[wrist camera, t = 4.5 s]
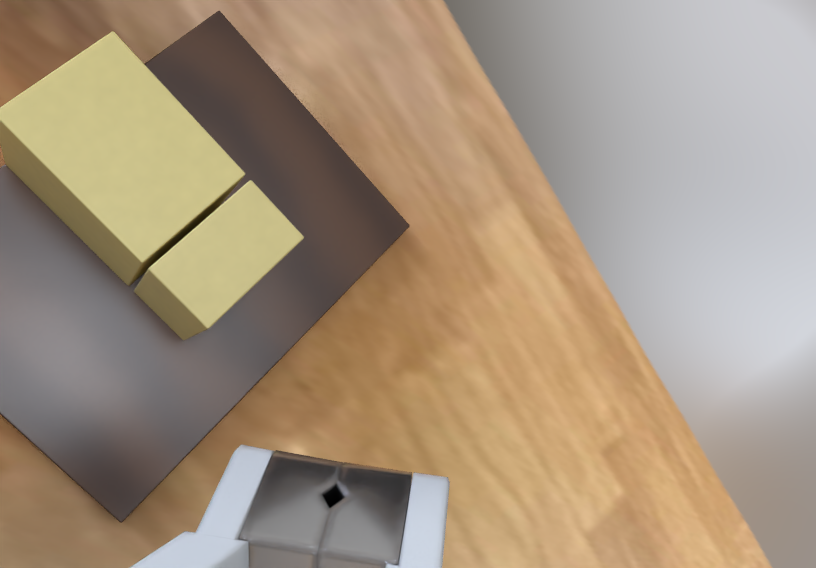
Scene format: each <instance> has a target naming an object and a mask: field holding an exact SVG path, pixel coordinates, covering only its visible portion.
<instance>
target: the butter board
mask: <svg viewBox="0 0 816 568" xmlns="http://www.w3.org/2000/svg"><path fill="white" fill-rule="evenodd" d="M144 65H145V66H146V67H147V68H148V69H149V70H150V71H151V72H152V73H153V74H154V75H155V77H156V78H157V79H158V80H159V81H160V82H161V83H162V84H163V85H164V86H165V87H166V88H167V89H168V91H169V92H170V93H171V94H172V95H173V96H174V97H175V98H176V99H177V100H178V101H179V102H180V104H181V105H182V106H183V107H184V108H185V109H186V110H187V111H188V112H189V113H190V114H191V115H192V116H193V118H194V119H195V120H196V121H197V122H198V123H199V124H200V125H201V126H202V127H203V128H204V129H205V130H206V132H207V133H208V134H209V135H210V136H211V137H212V138H213V139H214V140H215V141H216V142H217V143H218V145H219V146H220V147H221V148H222V149H223V150H224V151H225V152H226V153H227V154H228V155H229V156H230V157H231V159H232V160H233V161H234V162H235V163H236V164H237V165H238V166H239V167H240V168H241V169H242V170H243V171H244V173H245V176H244V177H243V178H242V179H241V181H240V182H239V183H238V184H237V186H236V187H235V188H234V189H233V190H232V192H231V193H230V194H229V195H228V197H227V198H226V199H225V200H224V201H223V203H224V202H225V201H226V200H228V199H229V198H230V197H231V196H232V195H233V194H235V193H236V192H237V191H238V190H239V189H240V188H241V187H243V186H244V185H245V184H246V183H247V182H248V181H250V180H251V181H253V182H254V184H255V185H256V186H257V187H258V188H259V189H260V190H261V191H262V192H263V193H264V194H265V195H266V196H267V198H268V199H269V200H270V201H271V202H272V203H273V204H274V205H275V206H276V207H277V208H278V209H279V211H280V212H281V213H282V214H283V215H284V216H285V217H286V218H287V219H288V220H289V221H290V222H291V223H292V225H293V226H294V227H295V228H296V229H297V230H298V231H299V232H300V233H301V234H302V235H303V237H304V238H303V240H302V241H301V242H300V243H299V244H298V245H296V246H295V247H294V248H293V249H292V250H291V251H290V252H289V253H288V254H287V255H286V256H285V257H284V258H283V259H282V260H281V261H280V262H279V263H278V264H276V265H275V266H274V267H273V268H272V269H271V270H270V271H269V272H268V273H267V274H266V275H265V276H264V277H263V278H262V279H261V280H260V281H259V282H258V283H257V284H255V285H254V286H253V287H252V288H251V289H250V290H249V291H248V292H247V293H246V294H245V295H244V296H243V297H242V298H241V299H240V300H239V301H238V302H237V303H236V304H234V305H233V306H232V307H231V308H230V309H229V310H228V311H227V312H226V313H225V314H224V315H223V316H222V317H221V318H220V319H219V320H218V321H217V322H216V323H215V324H213V325H212V326H211V327H210V328H209V329H207V330H205V331H203V332H201V333H199V334H196V335H194V336H192V337H190V338H188V339H186V340H182V339H181V338H180V337H179V336H178V335H177V334H176V333H175V332H174V331H173V330H172V329H171V328H170V327H169V326H168V325H167V324H166V323H165V322H164V321H163V320H162V319H161V318H160V317H159V316H158V315H157V314H156V313H155V312H154V311H153V310H152V309H151V308H150V307H149V306H148V305H147V304H146V303H145V302H144V301H143V300H142V299H141V298H140V297H139V296H138V295H137V294H136V293H135V292H134V290H135V288H136V287H137V285H138V284H139V282H140V281H141V279H142V278H143V276H144V275H145V273H146V272H147V271H146V272H145V273H144V274H142V275H141V276H140V277H139V278H138V279H137V280H136V281H134V282H133V283H132V284H131V285H130V286H128V285H127V284H126V283H125V282H124V281H123V280H122V279H121V278H120V277H119V276H118V275H117V274H116V273H114V272H113V271H112V270H111V269H110V268H109V267H108V266H107V265H106V264H105V263H104V262H103V261H102V260H101V259H100V258H99V257H98V256H97V255H96V254H95V253H94V252H93V251H92V250H91V249H90V248H89V247H88V246H87V245H86V244H85V243H84V242H83V241H82V240H81V239H80V238H79V237H78V236H77V235H76V234H75V233H74V232H73V231H72V230H71V229H70V228H69V227H68V226H67V225H66V224H65V223H64V222H63V221H62V220H61V219H60V218H59V217H58V216H57V215H56V214H55V213H54V212H53V211H52V210H51V209H50V208H49V207H48V206H47V205H46V204H45V203H44V202H43V201H42V200H41V199H40V198H39V197H38V196H37V195H36V194H35V193H34V192H33V191H32V190H31V189H30V188H29V187H28V186H27V185H26V184H25V183H24V182H23V181H22V180H21V179H20V178H19V177H18V176H17V175H16V174H15V173H14V172H13V171H12V170H11V169H10V168H9V167H8V166H6V164H5V165H4V166H2V167H1V168H0V414H1V415H2V416H3V417H4V418H5V419H6V420H7V421H8V422H10V423H11V424H12V425H13V426H14V427H15V428H16V429H17V430H18V431H20V432H21V433H22V434H23V435H24V436H25V437H26V438H27V439H28V440H30V441H31V442H32V443H33V444H34V445H35V446H36V447H37V448H38V449H40V450H41V451H42V452H43V453H44V454H45V455H46V456H47V457H48V458H50V459H51V460H52V461H53V462H54V463H55V464H56V465H57V466H58V467H60V468H61V469H62V470H63V471H64V472H65V473H66V474H67V475H68V476H69V477H71V478H72V479H73V480H74V481H75V482H76V483H77V484H78V485H79V486H81V487H82V488H83V489H84V490H85V491H86V492H87V493H88V494H89V495H91V496H92V497H93V498H94V499H95V500H96V501H97V502H98V503H99V504H101V505H102V506H103V507H104V508H105V509H106V510H107V511H108V512H109V513H111V514H112V515H113V516H114V517H115V518H116V519H117V520H118V521H119V522H123V521H124V520H125V519H126V518H127V517H128V516H129V515H130V513H131V512H132V511H133V510H134V509H135V508H136V507H137V506H138V505H139V504H140V503H141V502H142V501H143V500H144V499H145V498H146V497H147V496H148V495H149V494H150V493H151V492H152V491H153V490H154V489H155V488H156V487H157V486H158V485H159V484H160V483H161V482H162V481H163V480H164V478H165V477H166V476H167V475H168V474H169V473H170V472H171V471H172V470H173V469H174V468H175V467H176V466H177V465H178V464H179V463H180V462H181V461H182V460H183V459H184V458H185V457H186V456H187V455H188V454H189V453H190V452H191V451H192V450H193V449H194V448H195V447H196V446H197V445H198V443H199V442H200V441H201V440H202V439H203V438H204V437H205V436H206V435H207V434H208V433H209V432H210V431H211V430H212V429H213V428H214V427H215V426H216V425H217V424H218V423H219V422H220V421H221V420H222V419H223V418H224V417H225V416H226V415H227V414H228V413H229V412H230V411H231V410H232V408H233V407H234V406H235V405H236V404H237V403H238V402H239V401H240V400H241V399H242V398H243V397H244V396H245V395H246V394H247V393H248V392H249V391H250V390H251V389H252V388H253V387H254V386H255V385H256V384H257V383H258V382H259V381H260V380H261V379H262V378H263V377H264V376H265V375H266V374H267V372H268V371H269V370H270V369H271V368H272V367H273V366H274V365H275V364H276V363H277V362H278V361H279V360H280V359H281V358H282V357H283V356H284V355H285V354H286V353H287V352H288V351H289V350H290V349H291V348H292V347H293V346H294V345H295V344H296V343H297V342H298V341H299V340H300V339H301V337H302V336H303V335H304V334H305V333H306V332H307V331H308V330H309V329H310V328H311V327H312V326H313V325H314V324H315V323H316V322H317V321H318V320H319V319H320V318H321V317H322V316H323V315H324V314H325V313H326V312H327V311H328V310H329V309H330V308H331V307H332V306H333V305H334V304H335V302H336V301H337V300H338V299H339V298H340V297H341V296H342V295H343V294H344V293H345V292H346V291H347V290H348V289H349V288H350V287H351V286H352V285H353V284H354V283H355V282H356V281H357V280H358V279H359V278H360V277H361V276H362V275H363V274H364V273H365V272H366V271H367V270H368V269H369V267H370V266H371V265H372V264H373V263H374V262H375V261H376V260H377V259H378V258H379V257H380V256H381V255H382V254H383V253H384V252H385V251H386V250H387V249H388V248H389V247H390V246H391V245H392V244H393V243H394V242H395V241H396V240H397V239H398V238H399V237H400V236H401V235H402V234H403V232H404V231H405V230H406V229H407V228H408V227H409V224H408V223H407V222H406V221H405V220H404V219H403V217H402V216H401V215H400V214H399V213H398V212H397V211H396V210H395V208H394V207H393V206H392V205H391V204H390V203H389V202H388V201H387V199H386V198H385V197H384V196H383V195H382V194H381V193H380V191H379V190H378V189H377V188H376V187H375V186H374V185H373V184H372V182H371V181H370V180H369V179H368V178H367V177H366V176H365V175H364V173H363V172H362V171H361V170H360V169H359V168H358V167H357V166H356V164H355V163H354V162H353V161H352V160H351V159H350V158H349V156H348V155H347V154H346V153H345V152H344V151H343V150H342V149H341V147H340V146H339V145H338V144H337V143H336V142H335V141H334V140H333V138H332V137H331V136H330V135H329V134H328V133H327V132H326V130H325V129H324V128H323V127H322V126H321V125H320V124H319V123H318V121H317V120H316V119H315V118H314V117H313V116H312V115H311V114H310V112H309V111H308V110H307V109H306V108H305V107H304V106H303V105H302V103H301V102H300V101H299V100H298V99H297V98H296V97H295V95H294V94H293V93H292V92H291V91H290V90H289V89H288V88H287V86H286V85H285V84H284V83H283V82H282V81H281V80H280V79H279V77H278V76H277V75H276V74H275V73H274V72H273V71H272V69H271V68H270V67H269V66H268V65H267V64H266V63H265V62H264V60H263V59H262V58H261V57H260V56H259V55H258V54H257V53H256V51H255V50H254V49H253V48H252V47H251V46H250V45H249V44H248V42H247V41H246V40H245V39H244V38H243V37H242V36H241V34H240V33H239V32H238V31H237V30H236V29H235V28H234V27H233V25H232V24H231V23H230V22H229V21H228V20H227V19H226V18H225V16H224V15H223V14H222V13H221V12H220V11H218V12H216V13H215V14H213V15H212V16H211V17H209V18H208V19H206V20H205V21H204V22H202V23H201V24H200V25H198V26H197V27H195V28H194V29H193V30H191V31H190V32H188V33H187V34H186V35H184V36H183V37H181V38H180V39H179V40H177V41H176V42H175V43H173V44H172V45H170V46H169V47H168V48H166V49H165V50H163V51H162V52H161V53H159V54H158V55H156V56H155V57H154V58H152V59H151V60H150V61H148V62H147V63H145V64H144ZM223 203H222V204H223ZM222 204H221V205H222ZM221 205H220V206H221ZM220 206H219V207H220Z"/></svg>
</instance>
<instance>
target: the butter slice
mask: <svg viewBox="0 0 816 568" xmlns="http://www.w3.org/2000/svg"><path fill="white" fill-rule="evenodd" d="M303 238H304V237H303V235H302V234H301V233H300V232H299V231H298V230H297V229H296V228H295V227H294V226H293V225H292V223H291V222H290V221H289V220H288V219H287V218H286V217H285V216H284V215H283V214H282V213H281V212H280V211H279V209H278V208H277V207H276V206H275V205H274V204H273V203H272V202H271V201H270V200H269V199H268V198H267V196H266V195H265V194H264V193H263V192H262V191H261V190H260V189H259V188H258V187H257V186H256V185H255V184H254V182H253V181H251V180H250V181H248V182H247V183H246V184H245V185H244V186H243V187H241V188H240V189H239V190H238V191H237V192H236V193H235V194H233V195H232V196H231V197H230V198H229V199H228V200H226V201H225V202H224V203H223V204H222V205H221V206H220V207H218V208H217V209H216V210H215V211H214V212H213V213H211V214H210V215H209V216H208V217H207V218H206V219H205V220H203V221H202V222H201V223H200V224H199V225H198V226H196V227H195V228H194V229H193V230H192V231H191V232H190V233H188V234H187V235H186V236H185V237H184V238H183V239H181V240H180V241H179V242H178V243H177V244H176V245H175V246H173V247H172V248H171V249H170V250H169V251H168V252H166V253H165V254H164V255H163V256H162V257H161V258H160V259H158V260H157V261H156V262H155V263H154V264H153V265H151V266H150V267H149V268H148V270H147V272H146V273H145V275H144V276H143V278H142V279H141V281H140V282H139V284H138V285H137V287H136V288H135V290H134V292H135V293H136V294H137V295H138V296H139V297H140V298H141V299H142V300H143V301H144V302H145V303H146V304H147V305H148V306H149V307H150V308H151V309H152V310H153V311H154V312H155V313H156V314H157V315H158V316H159V317H160V318H161V319H162V320H163V321H164V322H165V323H166V324H167V325H168V326H169V327H170V328H171V329H172V330H173V331H174V332H175V333H176V334H177V335H178V336H179V337H180V338H181V339H182V340H186V339H188V338H190V337H192V336H194V335H196V334H199V333H201V332H203V331H205V330H207V329H209V328H210V327H211V326H212V325H213V324H215V323H216V322H217V321H218V320H219V319H220V318H221V317H222V316H223V315H224V314H225V313H226V312H227V311H228V310H229V309H230V308H231V307H232V306H233V305H234V304H236V303H237V302H238V301H239V300H240V299H241V298H242V297H243V296H244V295H245V294H246V293H247V292H248V291H249V290H250V289H251V288H252V287H253V286H254V285H255V284H257V283H258V282H259V281H260V280H261V279H262V278H263V277H264V276H265V275H266V274H267V273H268V272H269V271H270V270H271V269H272V268H273V267H274V266H275V265H276V264H278V263H279V262H280V261H281V260H282V259H283V258H284V257H285V256H286V255H287V254H288V253H289V252H290V251H291V250H292V249H293V248H294V247H295V246H296V245H298V244H299V243H300V242H301V241H302V240H303Z"/></svg>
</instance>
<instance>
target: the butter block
mask: <svg viewBox="0 0 816 568" xmlns="http://www.w3.org/2000/svg"><path fill="white" fill-rule="evenodd" d="M0 144H1V148H2V152H3V156H4V160H5V164H6V166H8V167H9V168H10V169H11V170H12V171H13V172H14V173H15V174H16V175H17V176H18V177H19V178H20V179H21V180H22V181H23V182H24V183H25V184H26V185H27V186H28V187H29V188H30V189H31V190H32V191H33V192H34V193H35V194H36V195H37V196H38V197H39V198H40V199H41V200H42V201H43V202H44V203H45V204H46V205H47V206H48V207H49V208H50V209H51V210H52V211H53V212H54V213H55V214H56V215H57V216H58V217H59V218H60V219H61V220H62V221H63V222H64V223H65V224H66V225H67V226H68V227H69V228H70V229H71V230H72V231H73V232H74V233H75V234H76V235H77V236H78V237H79V238H80V239H81V240H82V241H83V242H84V243H85V244H86V245H87V246H88V247H89V248H90V249H91V250H92V251H93V252H94V253H95V254H96V255H97V256H98V257H99V258H100V259H101V260H102V261H103V262H104V263H105V264H106V265H107V266H108V267H109V268H110V269H111V270H112V271H113V272H114V273H116V274H117V275H118V276H119V277H120V278H121V279H122V280H123V281H124V282H125V283H126V284H127V285H128V286H130V285H131V284H132V283H133V282H134V281H136V280H137V279H138V278H139V277H140V276H141V275H142V274H144V273H145V272H146V271H147V270H148V268H149V267H150V266H151V265H153V264H154V263H155V262H156V261H157V260H158V259H160V258H161V257H162V256H163V255H164V254H165V253H166V252H168V251H169V250H170V249H171V248H172V247H173V246H175V245H176V244H177V243H178V242H179V241H180V240H181V239H183V238H184V237H185V236H186V235H187V234H188V233H190V232H191V231H192V230H193V229H194V228H195V227H196V226H198V225H199V224H200V223H201V222H202V221H203V220H205V219H206V218H207V217H208V216H209V215H210V214H211V213H213V212H214V211H215V210H216V209H217V208H218V207H219V206H220V205H221V204H222V203H223V201H224V200H225V199H226V198H227V197H228V195H229V194H230V193H231V192H232V190H233V189H234V188H235V187H236V186H237V184H238V183H239V182H240V181H241V179H242V178H243V177H244V176H245V173H244V171H243V170H242V169H241V168H240V167H239V166H238V165H237V164H236V163H235V162H234V161H233V160H232V159H231V157H230V156H229V155H228V154H227V153H226V152H225V151H224V150H223V149H222V148H221V147H220V146H219V145H218V143H217V142H216V141H215V140H214V139H213V138H212V137H211V136H210V135H209V134H208V133H207V132H206V130H205V129H204V128H203V127H202V126H201V125H200V124H199V123H198V122H197V121H196V120H195V119H194V118H193V116H192V115H191V114H190V113H189V112H188V111H187V110H186V109H185V108H184V107H183V106H182V105H181V104H180V102H179V101H178V100H177V99H176V98H175V97H174V96H173V95H172V94H171V93H170V92H169V91H168V89H167V88H166V87H165V86H164V85H163V84H162V83H161V82H160V81H159V80H158V79H157V78H156V77H155V75H154V74H153V73H152V72H151V71H150V70H149V69H148V68H147V67H146V66H145V65H144V64H143V63H142V61H141V60H140V59H139V58H138V57H137V56H136V55H135V54H134V53H133V52H132V51H131V50H130V49H129V47H128V46H127V45H126V44H125V43H124V42H123V41H122V40H121V39H120V38H119V37H118V36H117V34H116V33H115V32H113V31H112V32H111V33H109V34H108V35H106V36H105V37H103V38H102V39H100V40H99V41H97V42H96V43H94V44H93V45H91V46H90V47H89V48H87V49H86V50H84V51H83V52H81V53H80V54H78V55H77V56H75V57H74V58H72V59H71V60H69V61H68V62H67V63H65V64H64V65H62V66H61V67H59V68H58V69H56V70H55V71H53V72H52V73H50V74H49V75H47V76H46V77H44V78H43V79H42V80H40V81H39V82H37V83H36V84H34V85H33V86H31V87H30V88H28V89H27V90H25V91H24V92H22V93H21V94H19V95H18V96H17V97H15V98H14V99H12V100H11V101H9V102H8V103H6V104H5V105H3V106H2V107H0Z"/></svg>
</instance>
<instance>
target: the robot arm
mask: <svg viewBox="0 0 816 568" xmlns="http://www.w3.org/2000/svg"><path fill="white" fill-rule="evenodd" d="M411 480H412V482H411ZM449 484H450V483H449V480H448V477H442V476H435V475H428V474H421V473H413V476H412V472H406V471H399V470H392V469H386V468H379V467H372V466H365V465H359V464H352V463H345V462H344V463H343V462H337V461H332V460H326V459H321V458H315V457H310V456H304V455H299V454H293V453H288V452H282V451H277V450H276V451H272V450H267V449H261V448H256V447H251V446H246V445H240V446H239V447H238V448H237V449H236V450H235V451H234V453H233V455H232V457H231V459H230V461H229V463H228V465H227V468H226V470H225V472H224V474H223V476H222V478H221V480H220V482H219V484H218V486H217V489H216V491H215V493H214V495H213V497H212V499H211V501H210V503H209V505H208V508H207V510H206V512H205V514H204V516H203V518H202V520H201V522H200V524H199V527H198V529H197V531H196V533H194V532H187V531H184V532H183V533H181V534H180V535H178V536H177V537H175V538H174V539H172V540H171V541H169V542H168V543H166V544H165V545H163V546H162V547H160V548H159V549H157V550H156V551H154V552H153V553H151V554H150V555H148V556H146V557H145V558H143V559H142V560H140V561H139V562H137V563H136V564H134V565H133V566H131V567H130V568H442V562H443V551H444V540H445V529H446V518H447V506H448V495H449ZM410 488H411V489H410ZM409 495H410V496H409Z"/></svg>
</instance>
